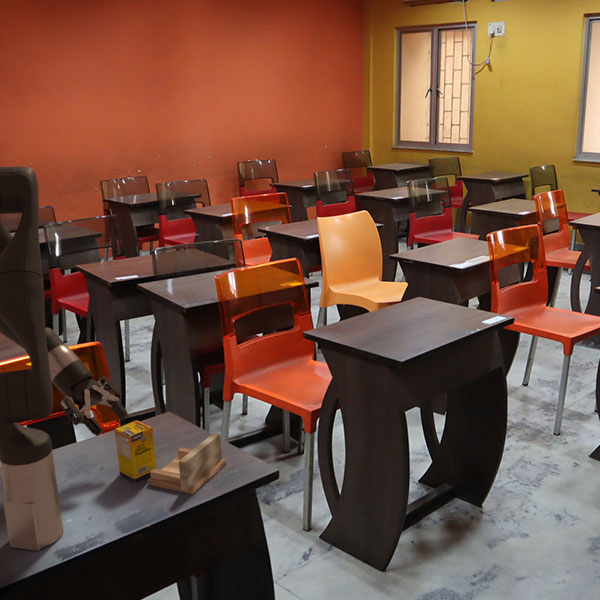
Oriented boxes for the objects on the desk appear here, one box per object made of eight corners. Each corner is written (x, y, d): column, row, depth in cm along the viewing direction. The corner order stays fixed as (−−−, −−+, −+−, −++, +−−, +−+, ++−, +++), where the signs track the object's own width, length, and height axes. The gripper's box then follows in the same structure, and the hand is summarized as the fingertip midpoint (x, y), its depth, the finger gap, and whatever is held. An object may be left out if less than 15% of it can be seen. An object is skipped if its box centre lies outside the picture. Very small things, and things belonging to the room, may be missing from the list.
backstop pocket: (192, 494, 157) (189, 463, 155) (148, 484, 162) (145, 454, 160) (226, 463, 169) (224, 434, 167) (184, 455, 174) (182, 427, 172)
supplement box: (157, 472, 167) (153, 426, 164) (135, 483, 162) (130, 436, 159) (141, 464, 171) (137, 419, 168) (119, 474, 166) (113, 428, 163)
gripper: (50, 371, 159) (100, 429, 158) (94, 349, 172) (141, 403, 170) (34, 391, 163) (83, 448, 161) (78, 368, 175) (124, 421, 174)
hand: (113, 425), depth 166 cm, fingers open, 8 cm apart
